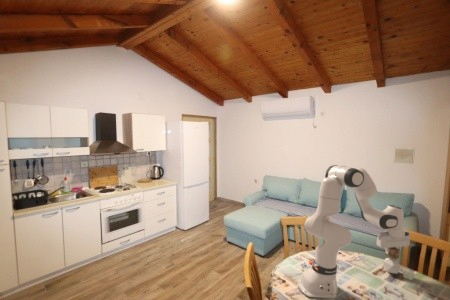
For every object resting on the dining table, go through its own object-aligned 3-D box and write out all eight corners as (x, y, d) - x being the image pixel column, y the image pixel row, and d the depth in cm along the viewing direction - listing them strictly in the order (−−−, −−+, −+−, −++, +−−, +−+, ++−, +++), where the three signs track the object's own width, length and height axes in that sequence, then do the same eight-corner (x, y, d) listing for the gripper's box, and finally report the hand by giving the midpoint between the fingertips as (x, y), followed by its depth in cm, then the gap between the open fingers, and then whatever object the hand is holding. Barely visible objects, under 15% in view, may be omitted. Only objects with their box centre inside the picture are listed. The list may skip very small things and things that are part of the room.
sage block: (411, 281, 130) (411, 275, 130) (403, 277, 134) (403, 271, 134) (414, 279, 132) (414, 273, 132) (406, 275, 136) (406, 269, 136)
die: (403, 278, 133) (404, 262, 132) (386, 276, 135) (387, 260, 134) (395, 270, 141) (396, 255, 141) (379, 268, 143) (380, 253, 143)
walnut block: (392, 258, 135) (392, 250, 134) (384, 254, 139) (385, 245, 139) (399, 258, 135) (399, 249, 135) (391, 253, 140) (392, 245, 140)
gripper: (383, 234, 132) (381, 257, 133) (412, 232, 135) (411, 254, 136) (374, 230, 138) (373, 251, 139) (402, 228, 141) (401, 249, 142)
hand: (392, 253), depth 137 cm, fingers open, 5 cm apart
